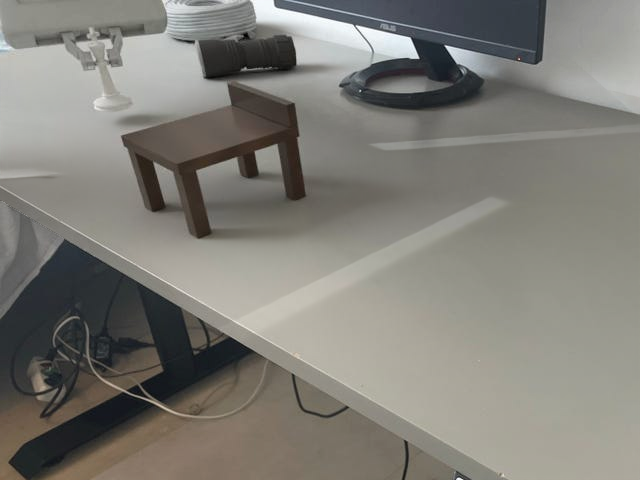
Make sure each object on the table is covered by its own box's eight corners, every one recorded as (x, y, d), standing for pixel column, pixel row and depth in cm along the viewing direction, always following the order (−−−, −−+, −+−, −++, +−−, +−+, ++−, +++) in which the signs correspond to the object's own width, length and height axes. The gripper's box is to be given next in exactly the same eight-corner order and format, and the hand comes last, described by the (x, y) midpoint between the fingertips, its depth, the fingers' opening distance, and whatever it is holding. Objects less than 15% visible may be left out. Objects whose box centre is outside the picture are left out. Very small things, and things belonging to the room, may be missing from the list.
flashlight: (294, 63, 122) (289, 29, 119) (300, 71, 118) (296, 36, 115) (200, 72, 118) (193, 37, 114) (204, 81, 114) (196, 45, 110)
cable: (257, 42, 133) (251, 7, 129) (158, 47, 130) (148, 11, 126) (259, 21, 146) (254, -12, 142) (170, 25, 143) (162, -9, 139)
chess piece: (141, 102, 100) (120, 25, 94) (115, 113, 96) (92, 34, 90) (112, 98, 101) (90, 22, 95) (86, 109, 97) (61, 30, 91)
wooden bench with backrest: (197, 240, 72) (170, 138, 66) (142, 207, 78) (112, 111, 71) (308, 196, 80) (294, 102, 74) (251, 169, 86) (234, 80, 80)
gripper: (-28, -40, 88) (10, 63, 88) (146, -50, 97) (181, 43, 96) (-16, -6, 94) (20, 90, 93) (147, -19, 103) (181, 69, 102)
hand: (103, 66), depth 95 cm, fingers closed on chess piece
